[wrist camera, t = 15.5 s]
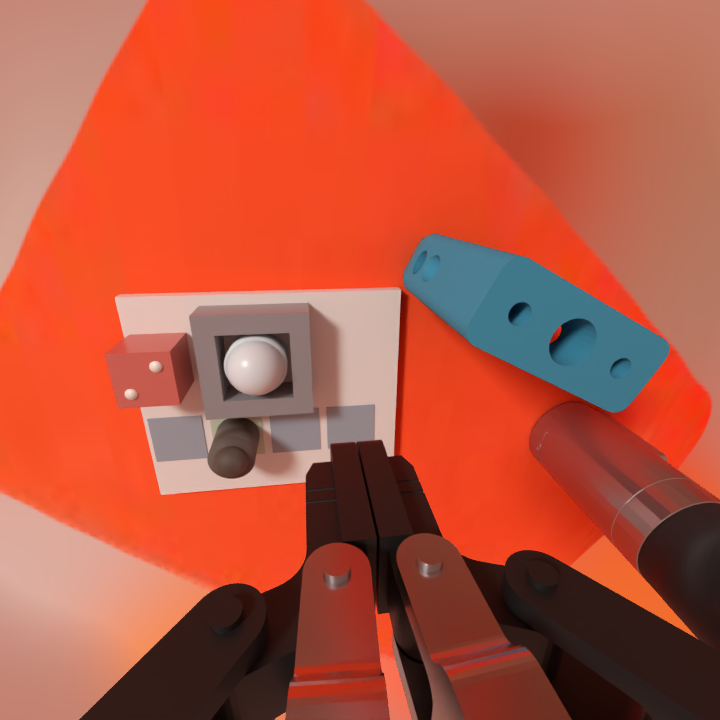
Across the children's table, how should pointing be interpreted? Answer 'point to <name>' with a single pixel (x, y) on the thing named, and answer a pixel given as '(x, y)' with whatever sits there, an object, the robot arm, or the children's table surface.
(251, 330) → the dome housing
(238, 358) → the dome
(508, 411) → the children's table surface
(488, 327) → the block
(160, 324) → the game board
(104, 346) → the children's table surface
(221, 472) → the pawn
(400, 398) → the children's table surface
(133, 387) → the die
